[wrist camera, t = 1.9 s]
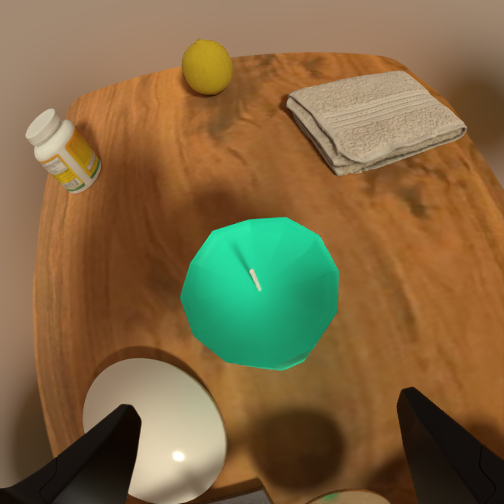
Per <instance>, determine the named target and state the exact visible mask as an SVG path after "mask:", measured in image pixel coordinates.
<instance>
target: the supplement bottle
mask: <svg viewBox="0 0 504 504" xmlns="http://www.w3.org/2000/svg"><path fill="white" fill-rule="evenodd" d="M26 138H27V139H28V140H29V142H30V143H31V144H32V145H34V146H35V149H34V154H35V157H36V159H37V160H38V161H39V162H40V163H41V164H42V165H43V166H44V168H46V170H47V171H48V172H49V173H50V174H51V175H52V176H53V177H54V178H55V179H56V180H57V181H58V182H59V183H60V184H61V185H62V186H63V187H64V188H65V189H66V190H67V191H68V192H70V193H73V194H77V193H81V192H83V191H85V190H86V189H88V188H89V187H90V186H91V185H92V184H93V183H94V182H95V180H96V179H97V177H98V175H99V173H100V171H101V166H102V165H101V161H100V159H99V157H98V156H97V155H96V153H95V152H94V151H93V149H92V148H91V147H90V146H89V144H88V143H87V142H86V140H85V139H84V138H83V136H82V135H81V134H80V132H79V131H78V130H77V128H76V127H75V126H74V124H73V123H72V122H71V121H69V120H61V119H60V116H59V115H58V113H57V112H56V111H55V110H54V109H48V110H46V111H45V112H43V113H42V114H41V115H39V116H38V117H37V118H36V119H35V120H34V121H33V122H32V124H31V125H30V126H29V128H28V130H27V132H26Z"/></svg>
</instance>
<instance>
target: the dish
mask: <svg viewBox="0 0 504 504" xmlns="http://www.w3.org/2000/svg"><path fill="white" fill-rule="evenodd" d="M121 404H130V405H133V406H134V408H135V409H136V411H137V413H138V414H139V416H140V417H141V420H142V426H141V433H140V439H139V446H138V453H137V459H136V463H135V467H134V471H133V475H132V479H131V483H130V487H129V491H128V494H130V495H132V496H134V497H136V498H138V499H140V500H143V501H147V502H150V503H155V504H179V503H184V502H187V501H190V500H192V499H195V498H196V497H198V496H200V495H201V494H203V493H204V492H205V491H206V490H207V489H209V487H210V486H211V485H212V484H213V483H214V482H215V480H216V479H217V478H218V476H219V475H220V473H221V471H222V469H223V467H224V464H225V461H226V457H227V450H228V439H227V431H226V426H225V422H224V419H223V417H222V414H221V412H220V410H219V408H218V406H217V404H216V402H215V401H214V399H213V398H212V396H211V395H210V393H209V392H208V391H207V390H206V389H205V388H204V386H203V385H202V384H201V383H200V382H198V381H197V380H196V379H195V378H194V377H193V376H191V375H190V374H189V373H187V372H186V371H184V370H182V369H180V368H179V367H177V366H174V365H172V364H170V363H166V362H163V361H159V360H153V359H146V358H133V359H126V360H123V361H119V362H117V363H115V364H113V365H111V366H109V367H108V368H106V369H105V370H104V371H103V372H101V373H100V374H99V375H98V377H97V378H96V379H95V380H94V382H93V383H92V385H91V387H90V388H89V391H88V393H87V396H86V399H85V403H84V409H83V427H84V433H87V432H88V431H89V430H90V429H92V428H93V427H94V426H95V425H96V424H98V423H99V422H100V421H101V420H102V419H104V418H105V417H106V416H107V415H108V414H110V413H111V412H112V411H113V410H114V409H116V408H117V407H118V406H119V405H121Z"/></svg>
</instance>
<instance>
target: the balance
mask: <svg viewBox="0 0 504 504" xmlns="http://www.w3.org/2000/svg"><path fill="white" fill-rule="evenodd" d="M191 504H274V503H273V501H272V499H271V498H270V496H269V494H268V492H267V490H266V488H265V486H262V487H259V488H256V489H252V490H249V491H245V492H242V493H238V494H234V495H230V496H226V497H221V498H217V499H212V500H208V501H202V502H197V503H191ZM306 504H391V503H390V502H389V501H388V500H387V499H386V498H385V497H384V496H382V495H381V494H379V493H377V492H374V491H371V490H366V489H352V488H351V489H342V490H336V491H332V492H329V493H326V494H323V495H321V496H318V497H316V498H314V499H312V500H310V501H309V502H307V503H306Z"/></svg>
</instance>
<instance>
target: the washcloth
mask: <svg viewBox="0 0 504 504" xmlns="http://www.w3.org/2000/svg"><path fill="white" fill-rule="evenodd" d="M286 104H287V108H289V109H290V110H291V111H292V114H293V116H294V120H295V121H296V123H297V124H298V125H299V127H300V128H301V129H302V131H303V132H304V133H305V134H306V136H307V137H308V138H309V139H310V140H311V141H312V142H313V144H314V145H315V147H316V148H317V150H318V151H319V153H320V154H321V156H322V157H323V158H324V159H325V161H326V162H327V163H328V165H329V166H330V168H331V169H332V171H333V172H334V173H335V174H336V175H337V176H342V175H347V174H348V173H351V174H352V173H361V172H362V171H368V170H369V169H376V168H379V167H382V166H385V165H387V164H390V163H393V162H396V161H398V160H401V159H404V158H407V157H410V156H413V155H415V154H418V153H421V152H424V151H426V150H429V149H432V148H434V147H436V146H440V145H443V144H446V143H449V142H453V141H455V140H457V139H460V138H461V137H462V136H463V135H464V134H465V133H466V131H467V126H466V125H464V122H463V121H461V120H460V119H459V118H458V117H456V115H455V114H454V113H453V112H452V111H450V110H449V109H448V108H447V107H446V106H444V105H442V104H441V103H440V102H438V100H436V99H435V98H434V97H433V96H431V95H430V94H429V92H428V91H427V90H426V89H425V88H424V87H423V86H422V85H421V84H420V83H418V82H417V81H416V80H415V79H414V78H412V77H411V76H410V75H408V74H407V73H405V72H404V71H391V72H384V73H382V74H381V73H380V74H378V73H377V74H372V75H364V76H356V77H354V78H347V79H344V80H343V79H340V80H339V81H334V82H332V83H326V84H321V85H319V86H317V85H316V86H312V87H308V88H307V87H306V88H302V89H301V90H296V91H293V92H292V93H290V94H288V100H287V103H286Z"/></svg>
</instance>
